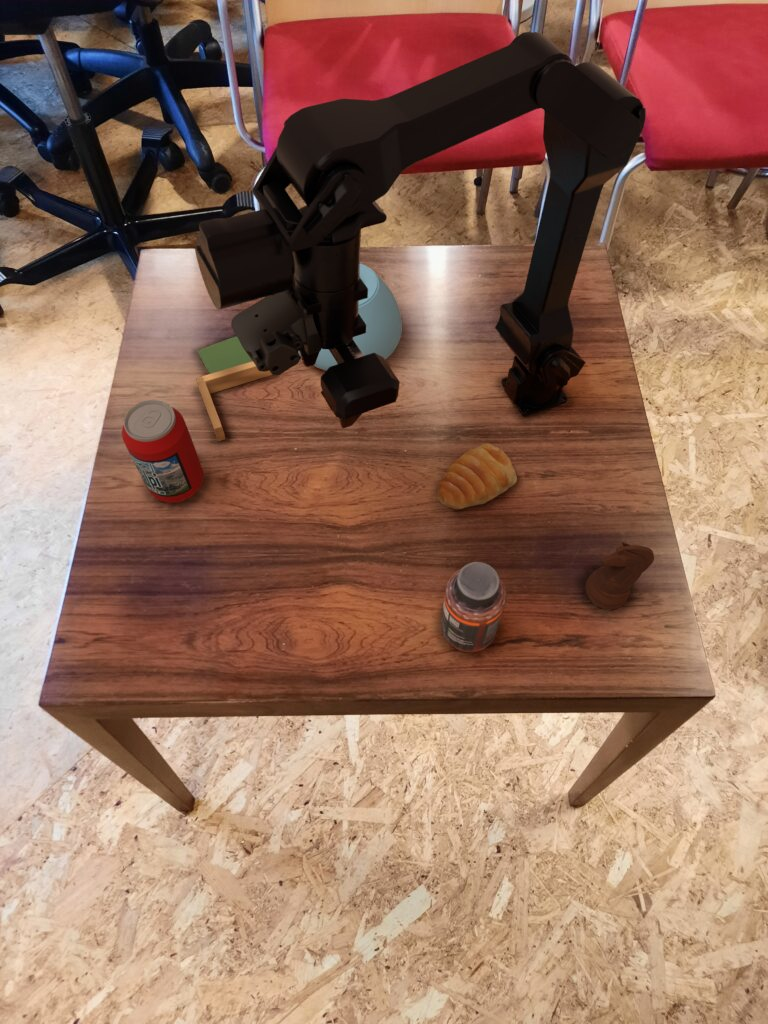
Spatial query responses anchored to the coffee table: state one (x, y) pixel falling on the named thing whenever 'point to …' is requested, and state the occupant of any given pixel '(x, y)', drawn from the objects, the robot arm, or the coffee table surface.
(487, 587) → the supplement bottle
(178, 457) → the beverage can
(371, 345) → the sugar bowl
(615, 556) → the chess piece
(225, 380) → the corner guard
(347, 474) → the coffee table surface
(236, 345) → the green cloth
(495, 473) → the pastry
